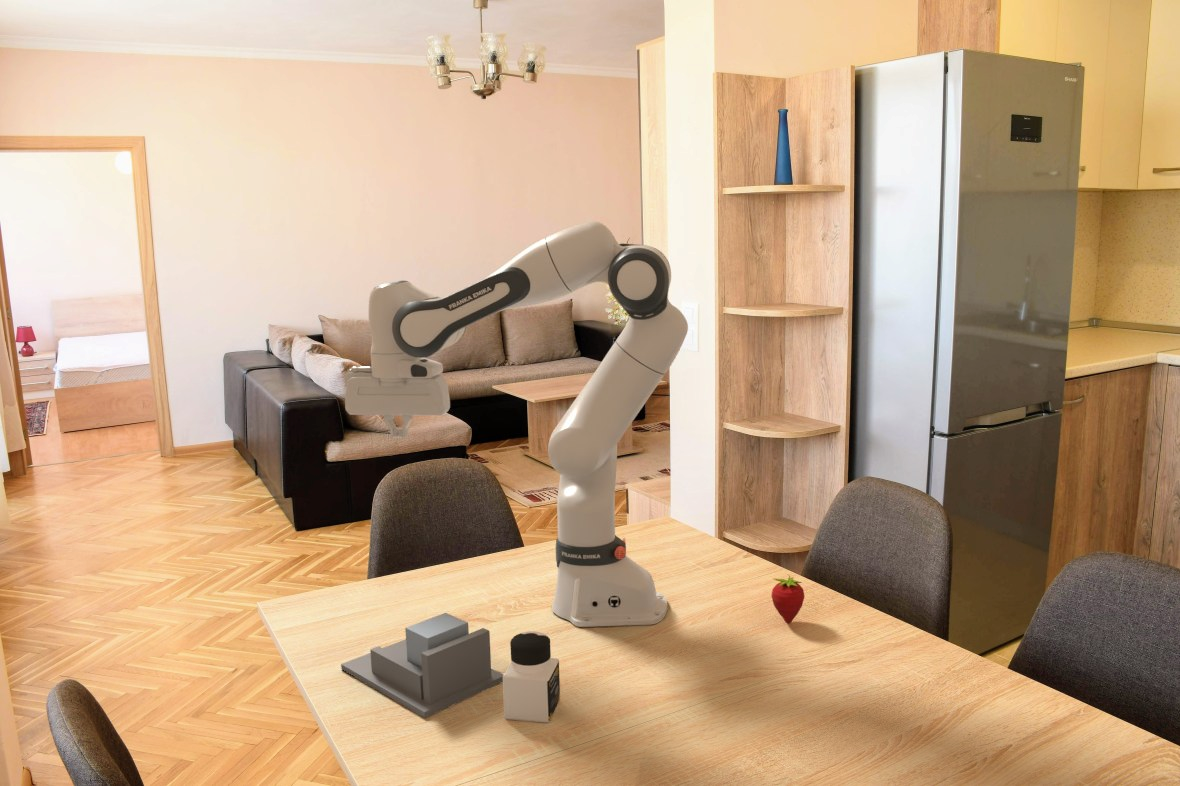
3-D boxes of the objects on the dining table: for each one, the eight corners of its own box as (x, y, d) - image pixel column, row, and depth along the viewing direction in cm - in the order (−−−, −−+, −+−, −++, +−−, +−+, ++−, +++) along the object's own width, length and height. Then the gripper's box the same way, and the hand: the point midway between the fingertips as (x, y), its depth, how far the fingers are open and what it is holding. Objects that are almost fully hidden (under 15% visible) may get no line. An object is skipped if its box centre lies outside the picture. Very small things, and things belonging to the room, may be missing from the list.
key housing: (341, 669, 156) (337, 619, 154) (419, 639, 167) (416, 592, 166) (424, 718, 139) (421, 662, 138) (505, 680, 151) (503, 629, 149)
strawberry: (767, 628, 168) (768, 576, 166) (775, 613, 175) (776, 562, 173) (800, 633, 166) (801, 580, 164) (807, 617, 173) (807, 566, 171)
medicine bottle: (549, 723, 137) (547, 648, 135) (503, 720, 138) (500, 645, 136) (560, 700, 144) (558, 628, 142) (516, 697, 145) (514, 625, 143)
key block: (408, 680, 149) (405, 627, 147) (448, 663, 154) (445, 612, 153) (430, 692, 145) (427, 638, 143) (470, 674, 150) (468, 622, 149)
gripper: (336, 368, 174) (341, 440, 177) (440, 368, 171) (444, 441, 173) (350, 364, 180) (355, 433, 183) (450, 364, 177) (454, 434, 179)
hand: (399, 437), depth 178 cm, fingers closed
